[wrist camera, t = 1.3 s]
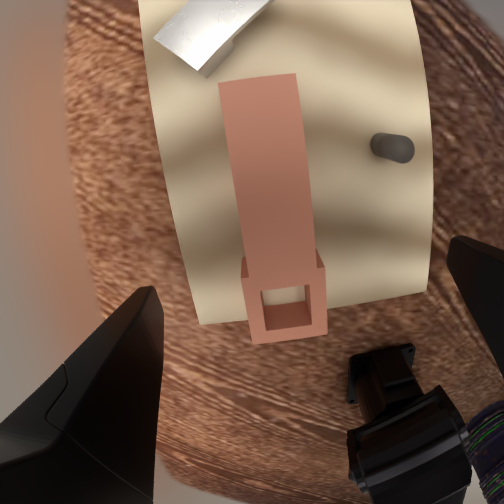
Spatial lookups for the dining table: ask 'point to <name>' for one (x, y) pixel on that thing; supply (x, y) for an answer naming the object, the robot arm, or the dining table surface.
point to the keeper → (208, 30)
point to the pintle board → (317, 147)
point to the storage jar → (488, 450)
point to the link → (274, 206)
